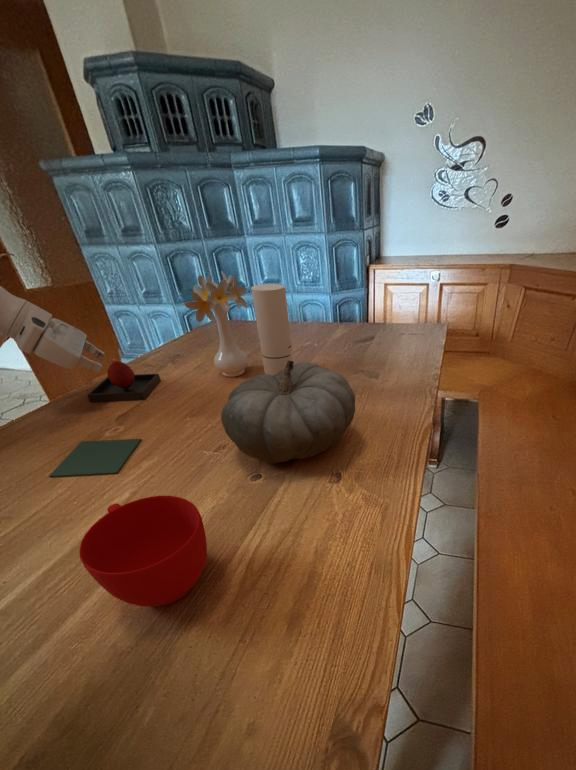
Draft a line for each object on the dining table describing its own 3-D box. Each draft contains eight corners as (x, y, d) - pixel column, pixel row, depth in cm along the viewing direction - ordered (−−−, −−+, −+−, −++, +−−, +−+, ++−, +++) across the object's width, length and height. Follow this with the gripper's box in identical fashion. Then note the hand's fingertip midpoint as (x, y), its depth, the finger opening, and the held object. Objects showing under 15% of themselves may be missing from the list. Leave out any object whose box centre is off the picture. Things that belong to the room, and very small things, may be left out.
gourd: (387, 435, 76) (371, 350, 65) (283, 506, 65) (243, 419, 55) (316, 404, 92) (293, 333, 82) (224, 457, 82) (185, 383, 71)
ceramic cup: (174, 523, 60) (152, 471, 54) (238, 579, 51) (221, 525, 45) (85, 573, 52) (48, 520, 46) (143, 650, 44) (107, 596, 37)
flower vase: (201, 387, 101) (172, 283, 86) (220, 362, 116) (198, 269, 101) (250, 386, 101) (230, 282, 86) (263, 361, 116) (248, 268, 101)
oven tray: (90, 402, 95) (86, 394, 94) (111, 382, 105) (108, 375, 103) (144, 400, 96) (142, 392, 94) (161, 380, 105) (158, 373, 104)
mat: (49, 477, 70) (48, 475, 70) (82, 443, 80) (81, 441, 79) (117, 474, 71) (116, 472, 70) (141, 440, 80) (140, 438, 80)
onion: (135, 382, 103) (124, 353, 98) (141, 389, 99) (130, 359, 95) (111, 388, 100) (98, 358, 95) (117, 395, 97) (104, 364, 92)
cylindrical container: (301, 391, 99) (290, 284, 84) (290, 403, 93) (276, 291, 78) (276, 388, 100) (260, 283, 85) (263, 400, 95) (244, 289, 80)
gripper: (35, 326, 93) (98, 359, 102) (18, 352, 78) (93, 387, 88) (47, 305, 92) (110, 340, 101) (32, 326, 77) (107, 365, 86)
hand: (102, 362), depth 94 cm, fingers open, 8 cm apart
